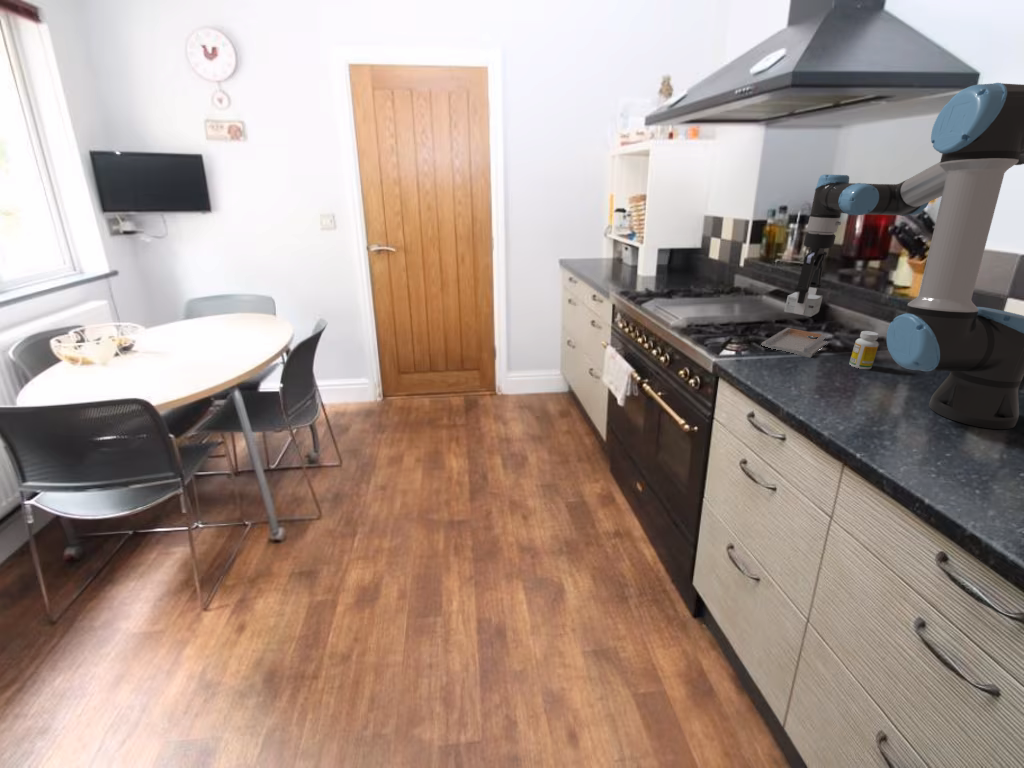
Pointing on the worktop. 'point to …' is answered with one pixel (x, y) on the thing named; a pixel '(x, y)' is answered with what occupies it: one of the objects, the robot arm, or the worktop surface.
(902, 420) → the worktop surface
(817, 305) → the small box
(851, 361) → the supplement bottle
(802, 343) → the board
